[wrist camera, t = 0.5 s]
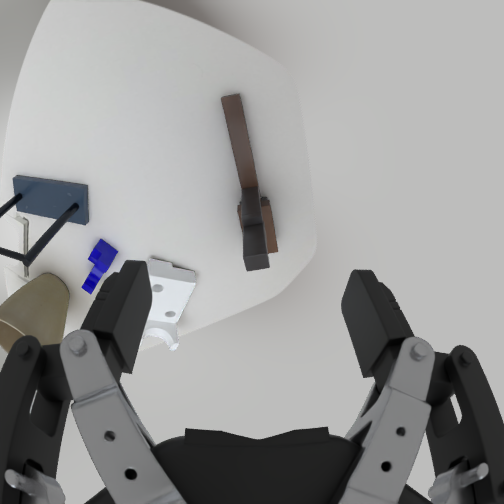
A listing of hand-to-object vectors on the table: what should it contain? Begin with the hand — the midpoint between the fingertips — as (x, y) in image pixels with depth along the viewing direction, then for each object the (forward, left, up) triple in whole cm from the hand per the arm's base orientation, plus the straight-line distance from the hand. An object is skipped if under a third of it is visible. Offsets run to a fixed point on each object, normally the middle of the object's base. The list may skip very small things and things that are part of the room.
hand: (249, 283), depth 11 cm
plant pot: (+33, -31, -25) cm, 52 cm away
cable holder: (+23, -19, -25) cm, 39 cm away
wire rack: (+13, -28, -25) cm, 40 cm away
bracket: (+27, -7, -25) cm, 38 cm away
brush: (+4, +1, -25) cm, 26 cm away
